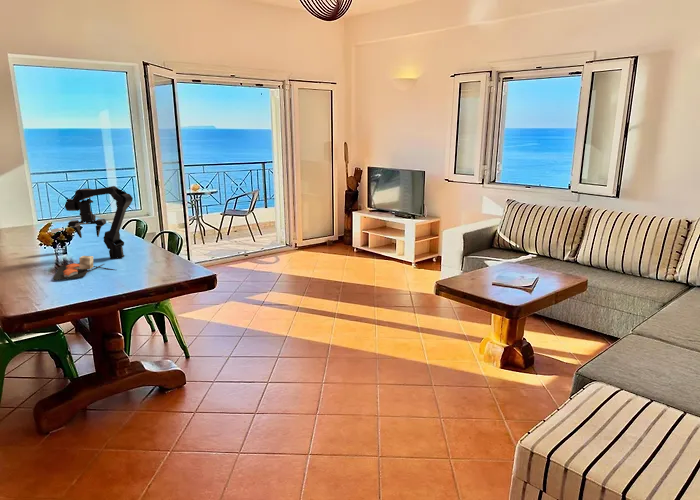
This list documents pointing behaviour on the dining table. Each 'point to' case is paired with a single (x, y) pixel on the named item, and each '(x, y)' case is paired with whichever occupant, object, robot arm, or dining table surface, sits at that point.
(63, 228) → the beer glass
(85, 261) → the birch block
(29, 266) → the dining table surface
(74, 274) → the sushi plate
